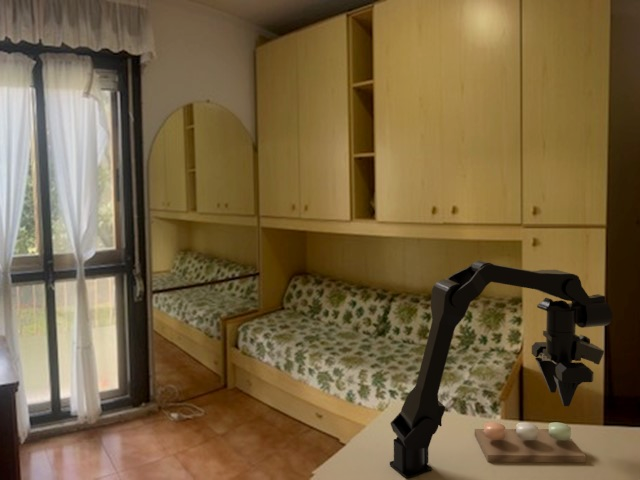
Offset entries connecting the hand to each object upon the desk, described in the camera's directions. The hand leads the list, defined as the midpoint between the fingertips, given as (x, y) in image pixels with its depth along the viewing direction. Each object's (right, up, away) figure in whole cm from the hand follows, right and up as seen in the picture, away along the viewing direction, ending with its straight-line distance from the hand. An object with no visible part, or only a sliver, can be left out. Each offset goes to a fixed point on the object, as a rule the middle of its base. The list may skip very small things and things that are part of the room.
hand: (559, 398), depth 116 cm
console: (-7, -11, +1) cm, 13 cm away
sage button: (0, -8, +1) cm, 8 cm away
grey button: (-7, -8, +1) cm, 11 cm away
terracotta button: (-14, -9, +2) cm, 16 cm away
